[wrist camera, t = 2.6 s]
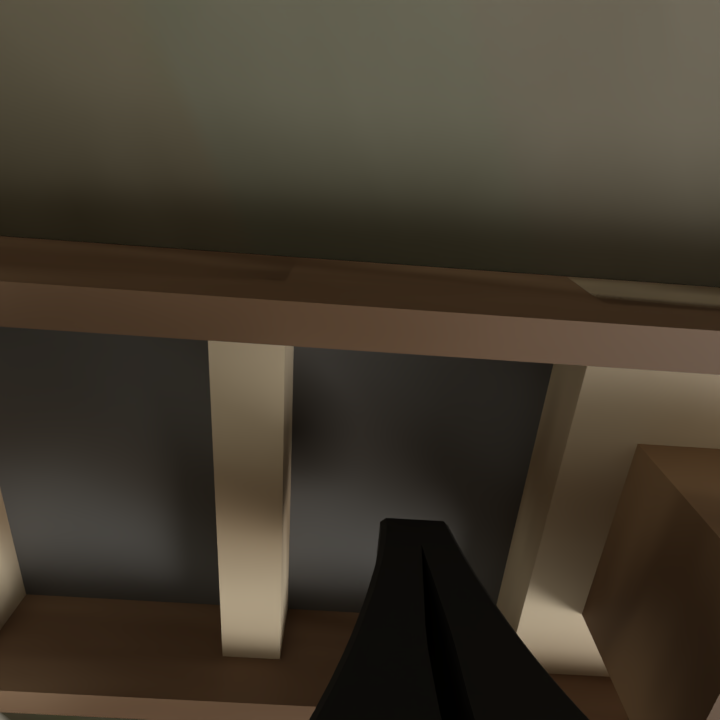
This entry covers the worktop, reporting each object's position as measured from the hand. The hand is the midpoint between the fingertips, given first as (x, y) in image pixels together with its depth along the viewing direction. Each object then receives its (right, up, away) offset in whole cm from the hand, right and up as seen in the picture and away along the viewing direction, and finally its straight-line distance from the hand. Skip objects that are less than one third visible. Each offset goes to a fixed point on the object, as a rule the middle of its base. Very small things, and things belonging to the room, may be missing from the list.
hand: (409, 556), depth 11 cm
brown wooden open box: (+4, +1, +3) cm, 5 cm away
